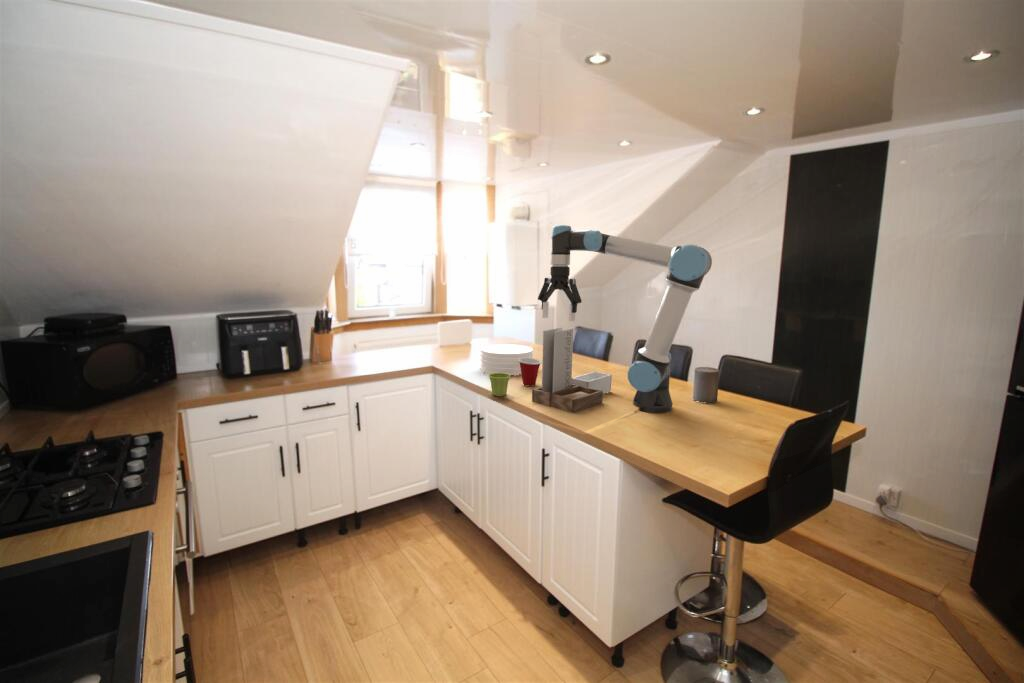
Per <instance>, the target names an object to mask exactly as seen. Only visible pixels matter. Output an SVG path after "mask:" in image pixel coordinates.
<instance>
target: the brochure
mask: <svg viewBox="0 0 1024 683" xmlns="http://www.w3.org/2000/svg"><path fill="white" fill-rule="evenodd" d="M542 332H543V333H542V334H543V335H542V360H541V361H542V362H541V365H542V366H541V367H542V368H541V373H542V374H541V387H542V391H544V392H548V393H554V392H557V391H561V390H564V389H567V388H571V379H572V378H573V377H572V374H573V373H572V372H573V371H572V370H573V350H574V349H573V348H574V343H573V342H574V328H570V329H563V327H558V328H557V327H556V328H552V329H546V330H543V331H542Z"/></svg>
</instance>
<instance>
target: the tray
mask: <svg viewBox="0 0 1024 683" xmlns="http://www.w3.org/2000/svg"><path fill="white" fill-rule="evenodd" d="M580 391H581V392H584V393H588V395H585V396H582V397H579V398H576V399H571V398H567V397H564V395H568V394H572V393H576V392H580ZM603 394H604V393H603V391H601V390H597V389H592V388H588V387H584V386H580V385H575V384H571V388H567V389H564V390H561V391H557V392H554V393H548V392H544V391H542V386H540V387H539V386H538V387H536V388H532V391H531V397H532V398H531V402H533V403H537V404H540V405H542V406H548V407H551V408H554V409H558V410H560V411H565V412H567V413H568V412H569V413H572V414H576V413H579V412H581V411H584V410H586V409H589V408H593V407H595V406H597V405H600V404H602V403H603Z"/></svg>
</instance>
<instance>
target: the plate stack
mask: <svg viewBox="0 0 1024 683" xmlns="http://www.w3.org/2000/svg"><path fill="white" fill-rule="evenodd" d="M533 357H534V349H533V347H530V346H527V345H521V344H508V343H507V344H505V343H503V344H490V345H485V346H482V347H480V371H481V372H482V371H483V372H482V373H484V372H485V373H484V374H487V373H489V374H492V373H506V374H510V375H514V376H519V375H518V374H521V367H520V362H519V359H521V358H532V359H534V358H533ZM489 374H488V375H489Z"/></svg>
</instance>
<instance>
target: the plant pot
mask: <svg viewBox="0 0 1024 683" xmlns="http://www.w3.org/2000/svg"><path fill="white" fill-rule="evenodd" d="M488 377H489V380H490V388H491V394H492V396H495V397H504V396H506V395H507V392H508V386H509V380H510V377H511V376H510V374H506V373H492V374H488Z"/></svg>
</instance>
